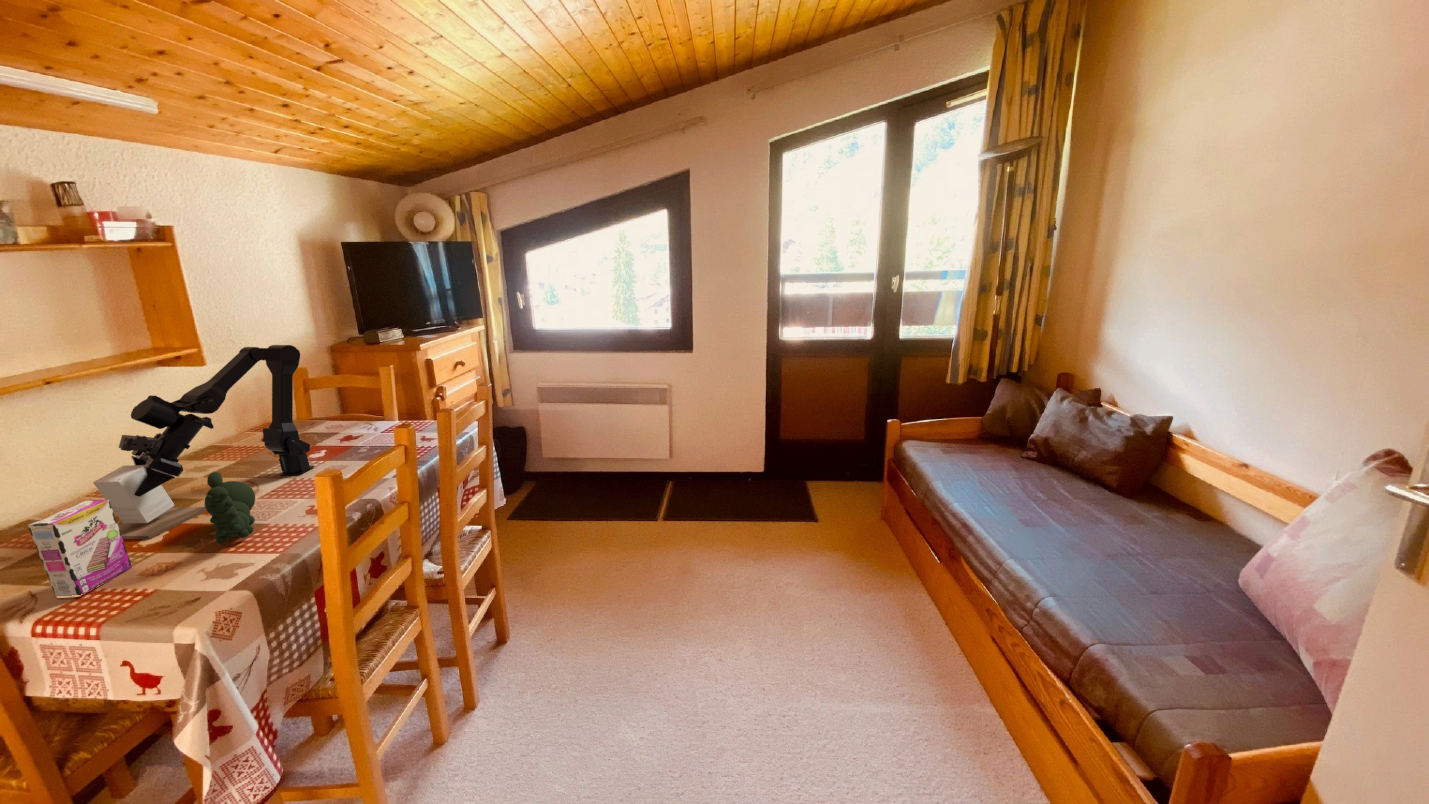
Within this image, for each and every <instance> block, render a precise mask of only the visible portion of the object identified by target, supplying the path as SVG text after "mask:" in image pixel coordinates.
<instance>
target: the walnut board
mask: <svg viewBox="0 0 1429 804" xmlns="http://www.w3.org/2000/svg"><path fill="white" fill-rule="evenodd" d="M205 512H207V510H206V508H205V506H189V507H188V506H184V507H183V506H182V507H181V506H180V507H179V506H178V507H174V506H173V507H172V508H170V509H169V510H167V511H166V512H164V513H162V514H161V515H159V516H158V517H156V518H155V519H153V520H151V521H150V522H148V523H122V521H120V522H117V524H118V527H119V531H120V533H121V536H122V538H123V539H142V541H143V539H144V540H146V539H148V540H152V539H153V538H156V537H157V536H159V535H161V534H163V533H165V532H167V531H169V530H171V529H173V528H175V527H177V526H179V525H182V524H183V523H185V522H187V521H189V520H191V519H192V518H195V517H197V516H199V515H201V514H203V513H205ZM172 527H173V528H172ZM166 530H167V531H166Z"/></svg>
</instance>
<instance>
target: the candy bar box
mask: <svg viewBox="0 0 1429 804" xmlns="http://www.w3.org/2000/svg"><path fill="white" fill-rule="evenodd" d="M27 528H28V530H29V533H30V536H31V537H32V540H33V543H34V545H35V548H36V550H37V552H38V555H39V558H40V560H41V563H42V564H43V568H44V570H45V573H46V575H47V578H48V580H49V583H50V585H51V588H52V591H53V594H54V596H55V598H56V597H57V596H72V595H81V594H84V593H85V592H87V591H90V590H91V589H93V588H96V587H97V586H98V585H101V584H102V583H104V584H106V583H107V581H108V580H109V581H111V580H113V579H114V578H116V577H118V576H119V574H120V575H122V574H123V573H125V572H127V571H129V570H130V569H131V568H133V565H132V563H131V559H130V557H129V554H128V550H127V548H126V546H125V542H124V540H123V538H122V536H121V533H120V531H119V527H118V522H117V518H116V517H115V512H114V510H113V509H112V507H111V504H110V501H109V500H105V499H94V500H85V501H82V502H80V503H77V504H75V505H72V506H71V507H68V508H66V509H64V510H61V511H58V512H56V513H54V514H51V515H49V516H47V517H44V518H42V519H39V520H37V521H35V522H32V523H30V524H28V525H27ZM112 578H113V579H112ZM109 581H108V582H109ZM105 582H106V583H105ZM101 586H102V585H101ZM96 589H97V588H96Z"/></svg>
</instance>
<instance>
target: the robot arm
mask: <svg viewBox="0 0 1429 804" xmlns="http://www.w3.org/2000/svg"><path fill="white" fill-rule="evenodd" d="M300 359H301V352H300V350H299V349H298V348H297V347H295V346H294V345H291V344H271V345H269V346H267V347H258V346H243V348H241V349H240V350H239V351H238V353H237V354H235V356H233V358H232V359H231V360H229V361H228V362H227V363H226V364H225V365H224V366H223V367H222V368H221V369H219V371H218V372H217V373H215V374H214V375H213V376H212V377H211V378H210V379H209V380H208V381H206V382H204V383H201V384H199V385H197V386H195V387H193V388H192V389H190V390H189V391H187V392H186V393H183V395H182V396H181V397H180V398H179V399H176V400H174V401H171V402H169V401H167V400H165V399H163V398H162V397H160V396H157V395H153V394H152V395H151V394H150V395H148V396H147V398H146V399H144V400H142V401H141V402H139V403H138V404H137V405H135V406H134V407H133V409H132V410H131V413H130V418H131V419H132V420H135V421H137V422H139V423H142V424H145V425H148V426H150V427H153V428H156V429H158V430H162V429H164V430H163V432H162V433H161V432H158V433H156V434H155V435H154V437H151V436H146V435H139V434H136V435H131V434H130V435H129V434H122V435H121V438H120V442H119V445H118V448H119V449H120V450H121V451H125V452H131V451H132V452H131V454H132V455H131V457H130V458H131V460H132V461H133V463H134V465H146V466H143V467H144V470H145V473H146V475H145V476H144V478H143V480H142V482H141V483H140V485H139V487H138V489H137V490H136V492H135V496H139V497H140V496H142V495H144V494H145V493H147V492H149V491H151V490H152V489H154V488H156V487H158V486H160V485H163V484H165V483H167V482H168V481H171V480H173V479H175V478H176V477H177V478H179V477H180V475H181V474H182V473H183V472H184V467H183V465H182V464H180V463H179V461H180V459H179V457H180V456H181V454H182V453H183V452H184V451H185V450H189V449H190V447H191V445H190V443H191V442H192V440H194V438H195V437H196V436H197V434H198V433H199V432H200V431H201V429H202V428H204V427H205V428H209V429H211V430H212V429H214V424H213V423H212V418H211V417H208V416H203V417H201V416H199V415H195V414H202V415H203V414H204V415H207V414H208V415H209V414H214V413H216V412H217V411H219V409H220V408H221V406H222V405H223V404H224V401H226V397H227V393H228V392H229V391H230V390H231V388H232V387H233V386H235V384H237V382H238V381H240V380H241V379H242V378H243V377H244V376H245V375H246V374H247V373H248V372H249V371H250V370H251V369H252V368H254V366H255V365H256V364H257V363H259V362H260V361H265V365H266V366H267V368H268V370H269V372H270V374H271V423H270V425H269V426H268V427H263V428H262V440H261V442H262V443H264V447H265V448H266V449H268V450H269V451H271V452H272V453H273V454H274V455H275V456H278V458H279V459H278V461H279V466H280V470H281V473H279V474H278V475H279V476H301V475H302V474H304V473H306V472H308V471H310V470H312V469H314V468H315V465H311V464H310V463H309V457H308V454H307V453H309V452H310V450H311V444H310V443H308V442H306V441H303V440H302V439H300V434H299V431H298V428H297V427H296V425H295V423H294V422H293V421H294V420H293V418H294V415H293V412H294V411H293V409H294V408H293V406H294V405H293V403H294V402H293V401H294V395H293V394H294V393H293V392H294V389H293V388H294V387H293V385H294V381H293V380H294V379H293V378H294V373H295V372H296V371H297V369H298V368H299V366H300ZM180 412H182V413H183V412H185V413H187V414H182V413H180ZM147 466H148V467H147Z"/></svg>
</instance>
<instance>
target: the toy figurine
mask: <svg viewBox="0 0 1429 804" xmlns="http://www.w3.org/2000/svg"><path fill="white" fill-rule="evenodd" d="M223 481H224V480H223V476H222V474H221V473H220V472H217V471H213V472H211V473H210V474H208V476H207V485H208V487H209V488H210V489H209V490H208V491H207V493H206V496H205V498H204V507H205V508H206V510H207V511H206V512H207V513H208V514H209V515H210V516H211V518H210V520H209V522H210V523H211V524H213V526H214V531H215V532H214V533H215V541H216V543H217V544H221V545H222V544H226V543H227V542H228V540H229V539H232V538H235V537H239V538H240V539H245V538H247V537H248V536H249V535H250V534H251V533H253V532H254V527H253V526H252V525H253V524H254V523H255V521H256V520H255V517H254V516H253V515H251V511H252V509H253V507H254V506H255V502H256V494H255V491H254V489H253V487H251V486H250V485H248V484H246V483H244V482H242V481H237V480H228V481H224V482H223Z"/></svg>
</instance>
